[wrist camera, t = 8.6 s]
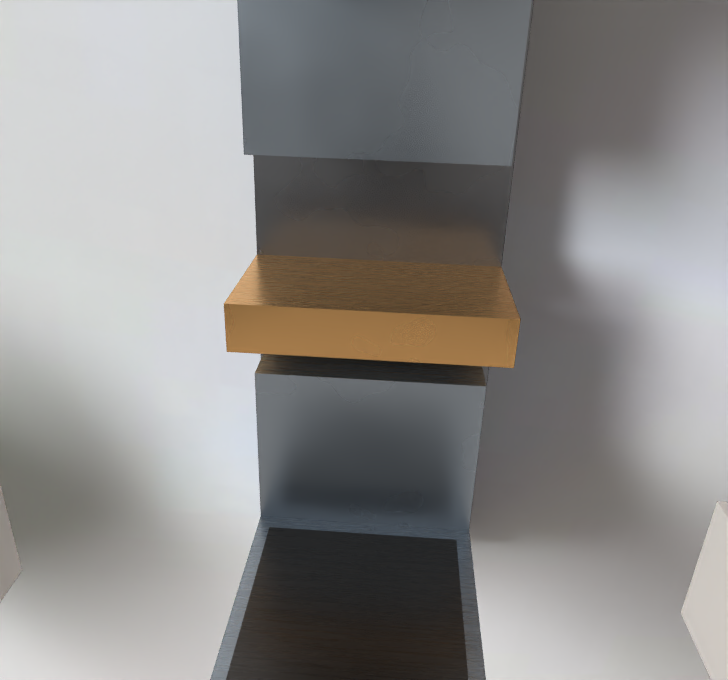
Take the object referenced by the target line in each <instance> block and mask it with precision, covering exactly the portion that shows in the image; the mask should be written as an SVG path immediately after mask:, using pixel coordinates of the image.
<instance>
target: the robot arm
mask: <svg viewBox="0 0 728 680" xmlns="http://www.w3.org/2000/svg"><path fill="white" fill-rule="evenodd" d="M21 571H22V567H21V563H20V559H19V555H18V551H17V548H16V544H15V540H14V536H13V532H12V528H11V524H10V520H9V516H8V512H7V508H6V504H5V500H4V496H3V493H2V489H1V485H0V602H1V601H2V599H3V598H4V596H5V595H6V593H7V592H8V590H9V589H10V587H11V586H12V585H13V583H14V582H15V580H16V579H17V577H18V576H19V574H20V573H21ZM681 615H682V617H683V620H684V622H685V624H686V626H687V628H688V631H689V633H690V635H691V637H692V639H693V642H694V644H695V646H696V648H697V650H698V653H699V655H700V657H701V659H702V661H703V664H704V666H705V668H706V670H707V672H708V675H709V677H710V679H711V680H728V502H722V501H717V503H716V506H715V509H714V512H713V515H712V519H711V522H710V525H709V528H708V531H707V534H706V537H705V540H704V543H703V546H702V549H701V552H700V555H699V558H698V561H697V565H696V568H695V571H694V574H693V577H692V580H691V583H690V586H689V589H688V592H687V595H686V598H685V601H684V604H683V608H682V611H681Z"/></svg>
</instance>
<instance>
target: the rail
mask: <svg viewBox="0 0 728 680" xmlns="http://www.w3.org/2000/svg"><path fill="white" fill-rule="evenodd" d="M237 2H238V25H239V49H240V72H241V96H242V119H243V143H244V154H246V155H254V182H255V209H256V237H257V255H256V257H255V258H254V260H253V261H252V263H251V264H250V266H249V267H248V269H247V270H246V272H245V273H244V275H243V276H242V278H241V279H240V281H239V282H238V284H237V285H236V286H235V288H234V289H233V291H232V292H231V294H230V295H229V297H228V298H227V300H226V301H225V303H224V313H225V330H226V346H227V352H241V353H259V354H261V358H262V356H263V354H276V355H294V356H311V357H329V358H347V359H364V360H382V361H399V362H417V363H434V364H452V365H470V366H482V368H483V373H484V377H485V382H486V386H487V378H488V370H489V367H505V368H514V363H515V356H516V349H517V342H518V335H519V327H520V320H521V319H520V317H519V314H518V311H517V308H516V306H515V303H514V300H513V298H512V295H511V292H510V289H509V287H508V284H507V281H506V278H505V276H504V273H503V270H502V268H501V264H502V256H503V248H504V240H505V231H506V223H507V215H508V207H509V199H510V191H511V183H512V174H513V166H514V158H515V150H516V142H517V134H518V126H519V117H520V109H521V101H522V93H523V85H524V77H525V68H526V60H527V52H528V44H529V36H530V28H531V20H532V11H533V3H534V0H237ZM484 403H485V402H484ZM483 411H484V410H483ZM482 419H483V418H482Z"/></svg>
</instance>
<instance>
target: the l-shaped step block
mask: <svg viewBox="0 0 728 680" xmlns="http://www.w3.org/2000/svg"><path fill="white" fill-rule="evenodd" d="M255 389H256V413H257V436H258V459H259V483H260V506H261V517H260V520H259V524H258V527H257V530H256V533H255V537H254V540H253V543H252V546H251V550H250V553H249V556H248V559H247V563H246V566H245V569H244V572H243V576H242V579H241V582H240V585H239V589H238V592H237V595H236V598H235V601H234V605H233V608H232V611H231V614H230V618H229V621H228V624H227V627H226V631H225V634H224V637H223V640H222V644H221V647H220V650H219V653H218V657H217V660H216V663H215V666H214V670H213V673H212V676H211V679H210V680H486V677H485V668H484V659H483V650H482V641H481V632H480V623H479V614H478V606H477V597H476V588H475V579H474V570H473V561H472V552H471V543H470V534H469V525H470V517H471V509H472V501H473V492H474V484H475V476H476V468H477V460H478V451H479V443H480V435H481V427H482V418H483V410H484V402H485V394H486V382H485V377H484V373H483V368H482V366H470V365H452V364H434V363H417V362H399V361H382V360H364V359H347V358H329V357H311V356H294V355H276V354H263V356H262V358H261V361H260V363H259V365H258V367H257V370H256V372H255Z"/></svg>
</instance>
